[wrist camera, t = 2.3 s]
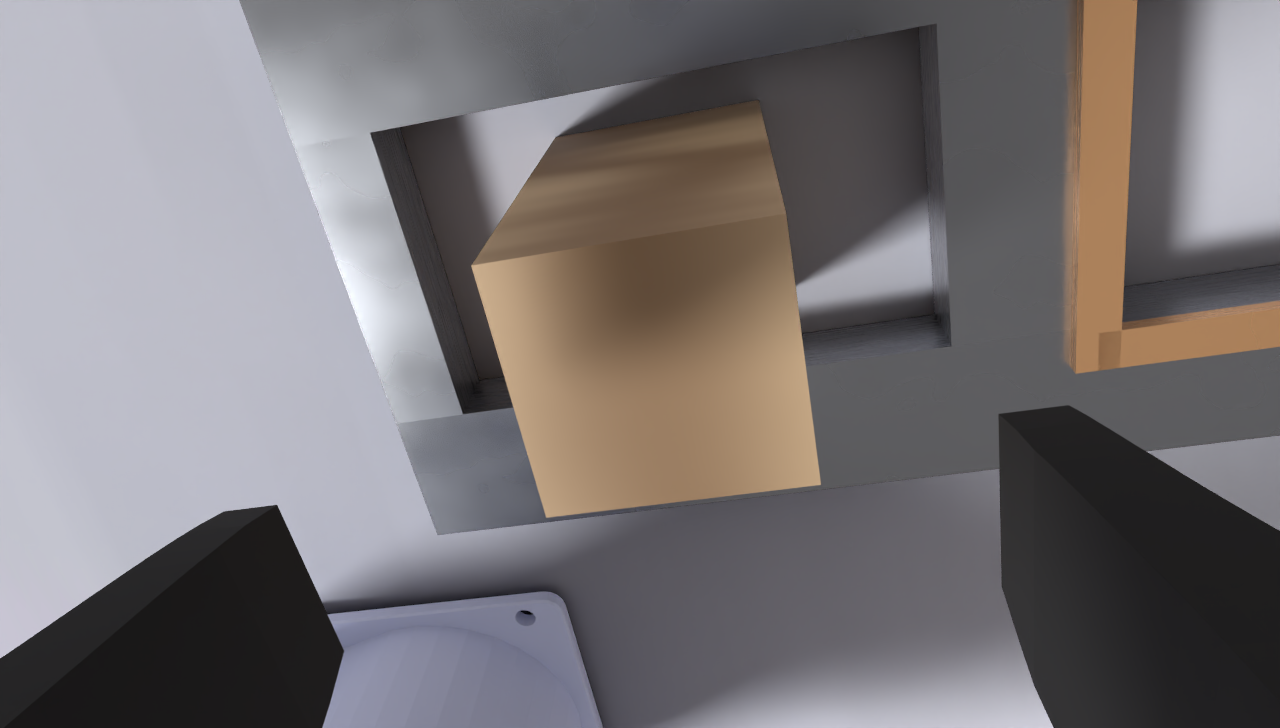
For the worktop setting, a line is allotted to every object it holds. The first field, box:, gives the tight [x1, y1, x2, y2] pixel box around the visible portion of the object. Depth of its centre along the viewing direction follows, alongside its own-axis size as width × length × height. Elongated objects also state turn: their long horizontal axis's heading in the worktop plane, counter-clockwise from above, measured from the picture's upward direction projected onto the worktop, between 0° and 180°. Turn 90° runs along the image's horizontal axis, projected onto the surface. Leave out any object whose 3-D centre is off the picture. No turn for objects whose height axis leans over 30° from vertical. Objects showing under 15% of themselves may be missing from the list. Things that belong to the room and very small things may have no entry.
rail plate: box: [239, 0, 1280, 535], centre depth 16 cm, size 26×12×2 cm, turn 101°
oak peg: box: [471, 100, 821, 518], centre depth 15 cm, size 4×4×7 cm
